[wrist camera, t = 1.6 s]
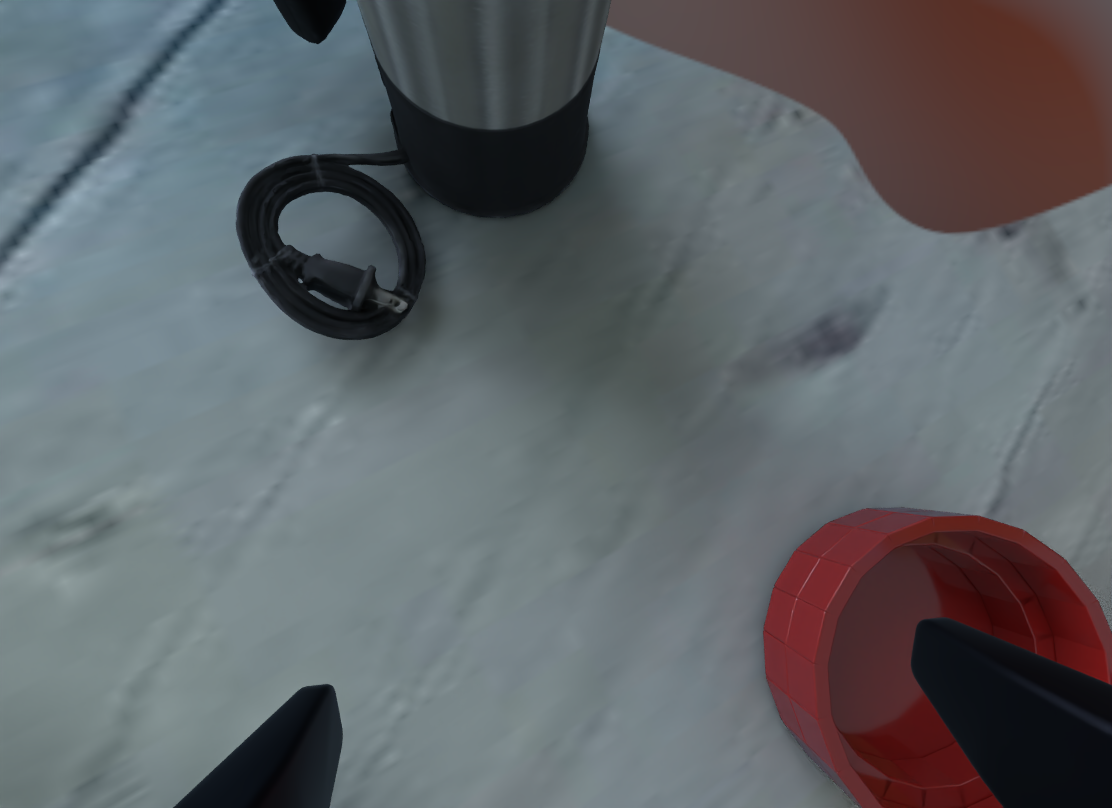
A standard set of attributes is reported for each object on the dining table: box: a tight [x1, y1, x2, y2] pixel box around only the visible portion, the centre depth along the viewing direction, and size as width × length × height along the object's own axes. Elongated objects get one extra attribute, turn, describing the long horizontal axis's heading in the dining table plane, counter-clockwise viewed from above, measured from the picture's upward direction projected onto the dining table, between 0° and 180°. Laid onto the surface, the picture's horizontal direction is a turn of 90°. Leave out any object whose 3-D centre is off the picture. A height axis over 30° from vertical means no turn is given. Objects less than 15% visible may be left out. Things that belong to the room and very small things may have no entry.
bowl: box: [763, 507, 1112, 808], centre depth 22 cm, size 12×12×4 cm
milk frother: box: [236, 0, 611, 340], centre depth 18 cm, size 14×16×15 cm
